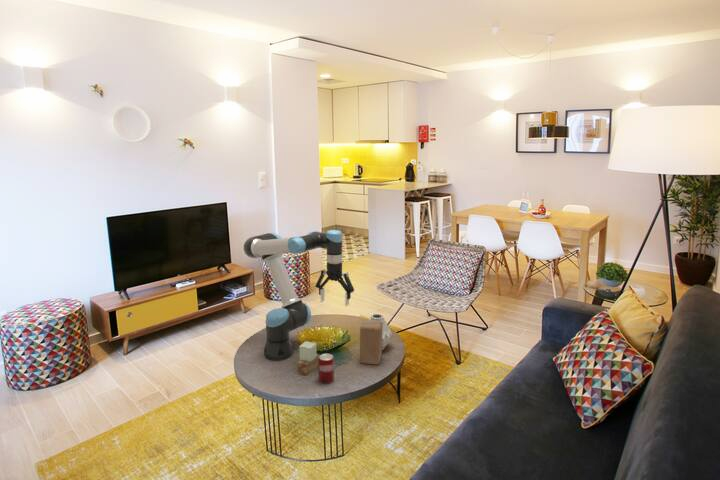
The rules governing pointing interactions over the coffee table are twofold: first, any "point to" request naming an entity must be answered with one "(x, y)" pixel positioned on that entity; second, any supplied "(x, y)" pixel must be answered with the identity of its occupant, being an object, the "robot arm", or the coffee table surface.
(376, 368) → the coffee table surface
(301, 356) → the sage block
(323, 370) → the soda can
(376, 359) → the wooden block
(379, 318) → the vase
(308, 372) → the walnut block
